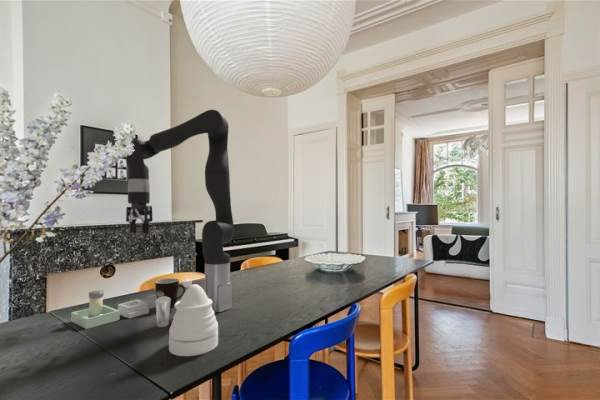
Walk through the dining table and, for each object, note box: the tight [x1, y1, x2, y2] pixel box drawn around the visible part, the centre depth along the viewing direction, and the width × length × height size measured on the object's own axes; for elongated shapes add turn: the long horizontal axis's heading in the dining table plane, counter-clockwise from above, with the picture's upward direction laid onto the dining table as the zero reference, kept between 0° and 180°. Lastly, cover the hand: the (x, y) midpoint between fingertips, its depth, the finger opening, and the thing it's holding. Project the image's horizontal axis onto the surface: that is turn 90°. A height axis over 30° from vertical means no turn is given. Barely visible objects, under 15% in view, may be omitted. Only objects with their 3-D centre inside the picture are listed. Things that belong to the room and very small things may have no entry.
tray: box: [70, 304, 121, 330], centre depth 106 cm, size 12×10×3 cm
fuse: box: [88, 289, 105, 318], centre depth 106 cm, size 4×4×9 cm
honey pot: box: [168, 278, 219, 357], centre depth 87 cm, size 13×13×18 cm
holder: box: [116, 299, 150, 319], centre depth 113 cm, size 9×7×4 cm
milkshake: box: [153, 296, 171, 328], centre depth 101 cm, size 4×5×10 cm
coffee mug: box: [154, 277, 186, 310], centre depth 119 cm, size 12×9×10 cm
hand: (139, 233), depth 121 cm, fingers open, 8 cm apart
